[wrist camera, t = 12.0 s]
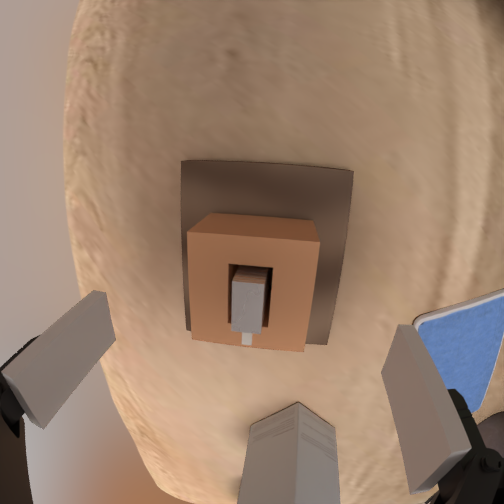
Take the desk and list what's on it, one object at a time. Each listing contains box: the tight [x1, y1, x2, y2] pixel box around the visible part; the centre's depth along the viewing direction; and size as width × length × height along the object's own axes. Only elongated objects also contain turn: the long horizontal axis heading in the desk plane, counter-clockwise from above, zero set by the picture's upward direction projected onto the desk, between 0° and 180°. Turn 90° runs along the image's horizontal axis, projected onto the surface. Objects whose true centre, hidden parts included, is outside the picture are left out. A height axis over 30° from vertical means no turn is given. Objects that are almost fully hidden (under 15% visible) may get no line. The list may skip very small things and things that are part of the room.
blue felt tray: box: [413, 289, 504, 413], centre depth 25 cm, size 19×13×1 cm, turn 14°
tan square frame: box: [187, 213, 320, 352], centre depth 19 cm, size 7×7×5 cm
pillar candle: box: [477, 412, 504, 458], centre depth 21 cm, size 10×10×15 cm
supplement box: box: [237, 402, 340, 504], centre depth 24 cm, size 7×7×13 cm
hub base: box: [181, 160, 354, 345], centre depth 19 cm, size 14×12×8 cm
